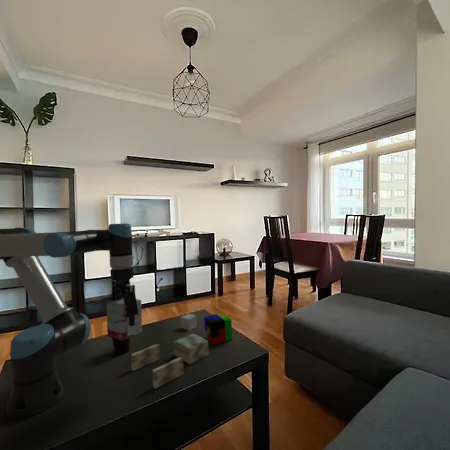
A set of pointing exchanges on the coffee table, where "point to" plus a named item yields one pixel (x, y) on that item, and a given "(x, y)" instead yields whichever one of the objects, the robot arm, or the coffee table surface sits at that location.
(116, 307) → the ink box
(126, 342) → the coffee mug
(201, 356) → the wooden blocks
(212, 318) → the puzzle toy
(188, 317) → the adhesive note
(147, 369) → the coffee table surface
